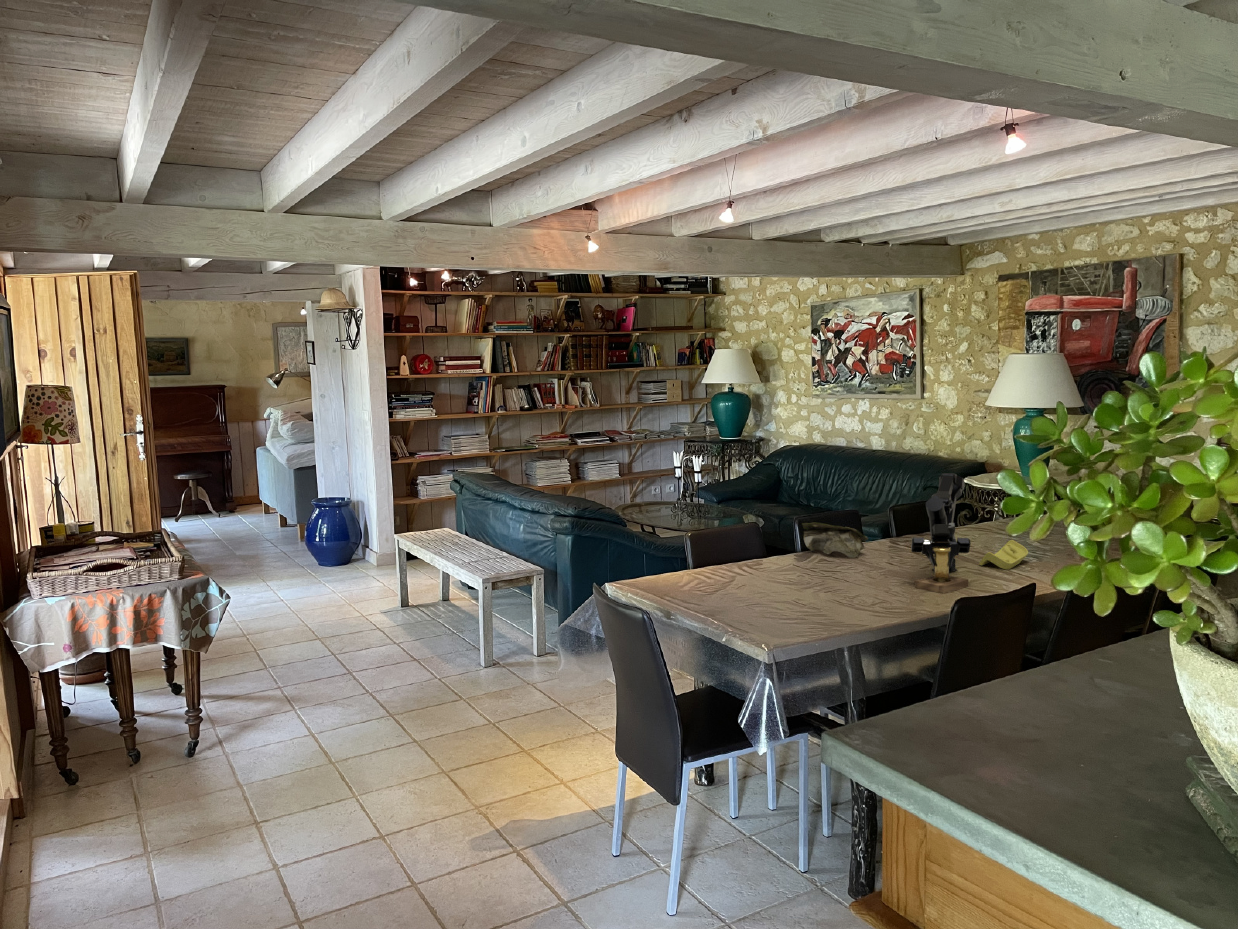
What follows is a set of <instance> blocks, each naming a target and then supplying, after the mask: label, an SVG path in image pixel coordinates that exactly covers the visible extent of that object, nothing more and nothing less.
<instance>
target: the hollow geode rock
mask: <svg viewBox="0 0 1238 929" xmlns="http://www.w3.org/2000/svg"><path fill="white" fill-rule="evenodd" d="M801 525H802V528H803V529H804V531H803V541H804V544H805V546H806V548H807V549H809V550H810V551H811V552H818V551H819V552H823V553H824V554H826V555H832V553H834V552H839V553H842V554H844V555H845V556H847V558H849V559H856V558H858V557H859V555H860V553H861V551H862V550H863V549H864V548H865V545H864V542H865V541H869V540H868V539H869V538H868V536H866V535H865V534H862V532H860V530H858V529H855V528H852V527H848V526H845V527H844V526H841V525H832V524H829V523H828V524H827V523H822V522H814V521H813V522H809V523H808V522H804V523H803V522H802V523H801Z"/></svg>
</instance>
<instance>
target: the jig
mask: <svg viewBox="0 0 1238 929" xmlns="http://www.w3.org/2000/svg"><path fill="white" fill-rule="evenodd" d="M914 584H915V585H914V588H915V589H919V590H920V589H921V590H924V591H930V592H934V593H938V594H946V593H947V594H948V593H950V592H954V591H957V590H960V589H961V590H962V589H963V588H968V587H969V579H968V578H963V577H958V576H954V575H953V576H952V575H949V582H936V581H935V574H934V575H931V576H927V577H924V578H921V579H920V578H919V579H916V580H914Z"/></svg>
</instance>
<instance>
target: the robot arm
mask: <svg viewBox="0 0 1238 929" xmlns="http://www.w3.org/2000/svg"><path fill="white" fill-rule="evenodd" d="M938 479H939V481H938V490H937V491H936V492H935V493H933V494H932V495H931V497H930V498H929V499H928V500H927V501H926V502H925V508H926V512H927V516H928V518H929V531H930V539H925V538H924V537H921V536H920V537H919V536H918V537H917V536H915V537H914V536H913V537H912V538H911V543H910V548H911V549H910V550H911V553H921V554H922V555H925V556H926V558H927V559H928V560H929V562H930V563H931V564H932V567H933V568H931V571H934V572H935V551H933V547H936V546H945V547H950V548H951V551H950V552H949V573H952V572H957V571H958V568H956V562H957V560H956V558H955V557H956V556H959V555H960V554H968V553H970V548H971V540H970V538H969V537H957V538H956V536H955V533H956V525H955V524H956V523H955V522H954V518H955V513H956V512H955V510H956V504H957V500H958V499H959V498H960V497H961V496H962V495H963V494H962V493H963V490H965V479H964V478H963V476H959V475H957V473H955V472H954V473H952V472H950V473H949V472H947V473H946V472H943V473H941V475H940V476H939V477H938Z"/></svg>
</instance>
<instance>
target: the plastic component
mask: <svg viewBox="0 0 1238 929" xmlns="http://www.w3.org/2000/svg"><path fill="white" fill-rule="evenodd" d="M1028 554H1029V551H1028V549H1027V548H1026V547H1025V546H1024V545H1022V544H1021V543H1019V542H1017V541H1016V540H1013V539H1009V541H1007V542H1006V543H1005V544H1004V546H1002V548H1001V549H1000V550H998V551H997V552H996V553H993V552H986V553H985V554H984V556H983V557H982V558H981V560H980V561H979V563H978V564H979V566H985V565H987V564H988V563H990V562H991V563H992V564H994V565H995V566H997V567H998V568H1001V570H1011V569H1013V568H1014V567H1016V566H1017V565H1019V564H1020V563H1021V562H1022V561H1023V560H1024V559H1025V558H1026V557H1027V556H1028Z"/></svg>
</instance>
